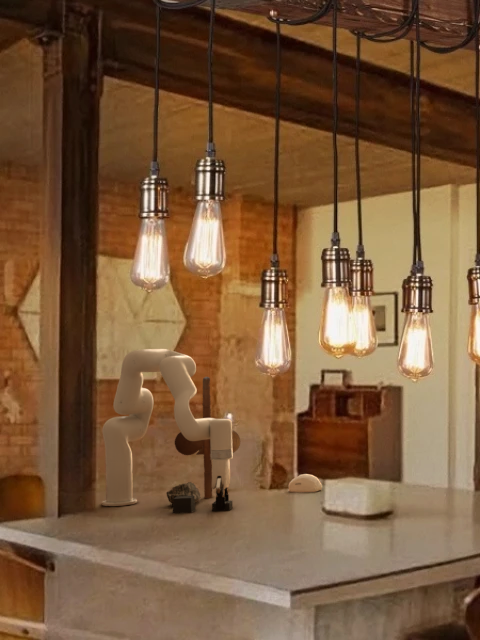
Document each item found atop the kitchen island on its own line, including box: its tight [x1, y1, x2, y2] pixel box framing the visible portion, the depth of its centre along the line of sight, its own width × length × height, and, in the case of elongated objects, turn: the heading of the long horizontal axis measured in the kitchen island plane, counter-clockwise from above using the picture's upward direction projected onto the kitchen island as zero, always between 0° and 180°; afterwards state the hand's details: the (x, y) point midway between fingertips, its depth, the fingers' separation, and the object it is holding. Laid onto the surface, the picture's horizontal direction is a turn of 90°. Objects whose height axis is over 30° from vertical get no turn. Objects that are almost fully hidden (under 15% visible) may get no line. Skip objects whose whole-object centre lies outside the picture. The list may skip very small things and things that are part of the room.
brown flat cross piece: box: [174, 376, 241, 499], centre depth 408 cm, size 25×4×45 cm, turn 81°
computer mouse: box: [287, 473, 323, 493], centre depth 417 cm, size 6×13×6 cm, turn 75°
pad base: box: [172, 502, 196, 514], centre depth 374 cm, size 6×6×2 cm
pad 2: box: [211, 500, 234, 512], centre depth 376 cm, size 6×6×2 cm
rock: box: [166, 481, 202, 506], centre depth 393 cm, size 18×10×10 cm
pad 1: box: [173, 496, 196, 506], centre depth 374 cm, size 6×6×2 cm
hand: (222, 507), depth 376 cm, fingers closed on pad 2, 6 cm apart
